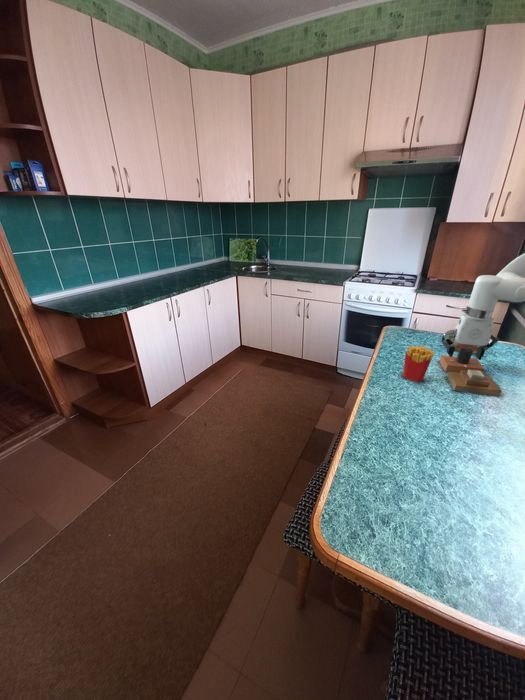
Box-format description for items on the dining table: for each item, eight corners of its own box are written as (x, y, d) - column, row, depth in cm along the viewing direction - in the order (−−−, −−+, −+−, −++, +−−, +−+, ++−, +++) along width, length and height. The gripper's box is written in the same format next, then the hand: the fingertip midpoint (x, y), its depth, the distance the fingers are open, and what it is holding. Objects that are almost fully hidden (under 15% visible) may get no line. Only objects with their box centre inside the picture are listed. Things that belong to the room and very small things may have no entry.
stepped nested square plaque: (487, 381, 101) (491, 371, 100) (499, 396, 94) (503, 385, 92) (446, 376, 105) (449, 367, 103) (454, 390, 97) (457, 380, 95)
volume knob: (466, 359, 109) (471, 346, 107) (470, 364, 106) (475, 351, 103) (454, 358, 110) (458, 345, 108) (457, 363, 107) (462, 350, 104)
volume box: (473, 365, 112) (476, 357, 110) (482, 376, 104) (485, 368, 103) (439, 361, 114) (441, 354, 113) (445, 372, 107) (447, 364, 106)
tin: (439, 347, 126) (444, 329, 122) (440, 344, 128) (445, 326, 124) (481, 356, 118) (488, 337, 114) (481, 353, 120) (488, 334, 116)
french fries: (399, 376, 105) (406, 347, 100) (402, 372, 108) (409, 343, 102) (425, 384, 101) (434, 353, 95) (427, 378, 103) (436, 349, 98)
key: (478, 375, 99) (480, 370, 98) (482, 380, 96) (484, 376, 95) (466, 373, 99) (468, 369, 99) (470, 379, 96) (472, 374, 96)
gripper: (453, 314, 98) (440, 358, 106) (513, 318, 94) (495, 364, 102) (447, 307, 105) (435, 349, 112) (503, 310, 100) (486, 354, 108)
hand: (463, 356), depth 107 cm, fingers open, 8 cm apart
